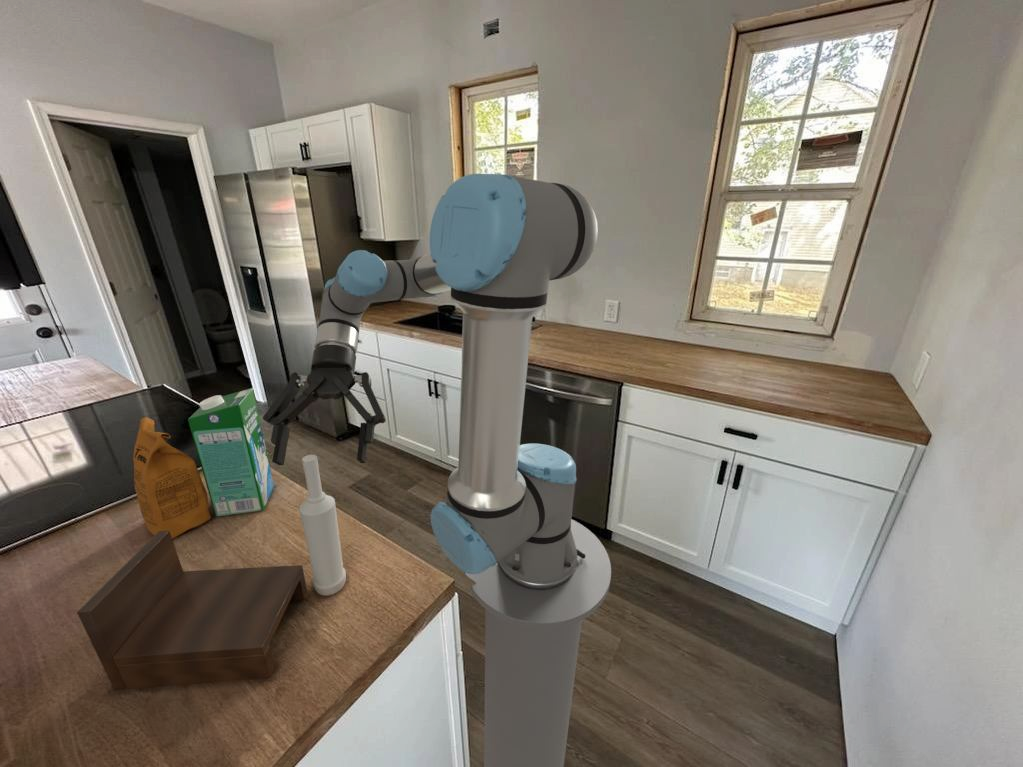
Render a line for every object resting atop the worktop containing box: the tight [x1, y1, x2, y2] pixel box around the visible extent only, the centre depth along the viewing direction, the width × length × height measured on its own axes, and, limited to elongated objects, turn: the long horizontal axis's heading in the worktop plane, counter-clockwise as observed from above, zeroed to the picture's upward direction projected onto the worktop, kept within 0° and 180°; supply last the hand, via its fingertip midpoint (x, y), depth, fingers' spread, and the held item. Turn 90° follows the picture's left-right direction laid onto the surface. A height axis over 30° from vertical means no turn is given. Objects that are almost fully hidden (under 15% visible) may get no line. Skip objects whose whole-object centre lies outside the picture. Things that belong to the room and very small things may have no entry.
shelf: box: [76, 531, 308, 691], centre depth 59 cm, size 20×14×14 cm
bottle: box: [299, 454, 347, 596], centre depth 66 cm, size 5×5×25 cm
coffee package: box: [133, 416, 212, 540], centre depth 80 cm, size 10×12×22 cm
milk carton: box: [187, 387, 275, 517], centre depth 86 cm, size 9×9×25 cm
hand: (319, 462), depth 70 cm, fingers open, 13 cm apart
